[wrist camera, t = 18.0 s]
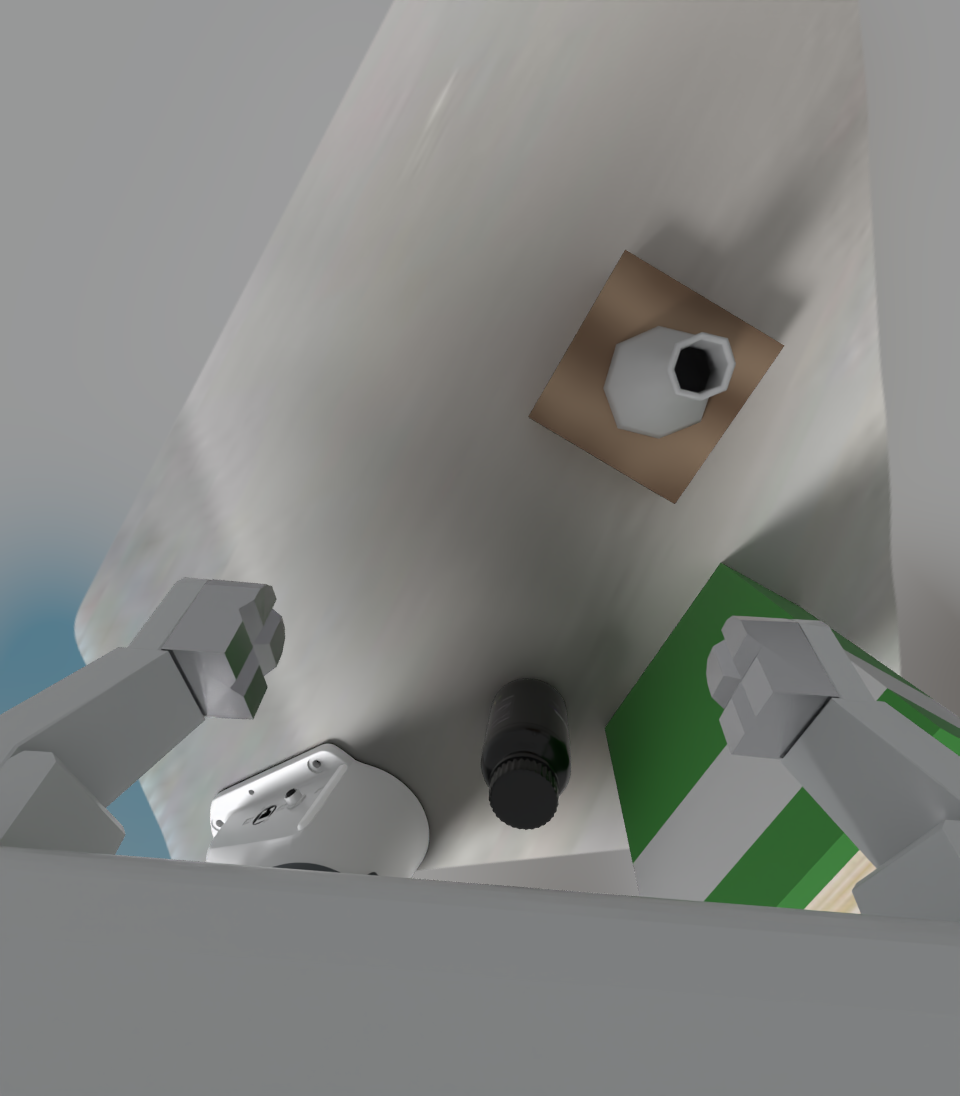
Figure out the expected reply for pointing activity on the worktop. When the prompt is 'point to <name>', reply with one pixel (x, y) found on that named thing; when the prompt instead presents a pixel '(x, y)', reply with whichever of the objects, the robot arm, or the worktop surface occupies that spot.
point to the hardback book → (735, 775)
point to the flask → (666, 379)
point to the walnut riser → (577, 383)
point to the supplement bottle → (526, 753)
